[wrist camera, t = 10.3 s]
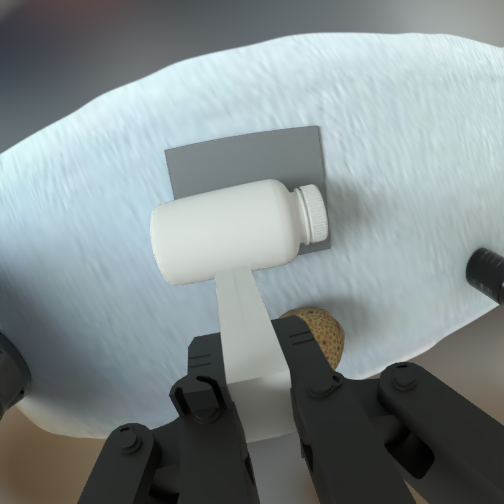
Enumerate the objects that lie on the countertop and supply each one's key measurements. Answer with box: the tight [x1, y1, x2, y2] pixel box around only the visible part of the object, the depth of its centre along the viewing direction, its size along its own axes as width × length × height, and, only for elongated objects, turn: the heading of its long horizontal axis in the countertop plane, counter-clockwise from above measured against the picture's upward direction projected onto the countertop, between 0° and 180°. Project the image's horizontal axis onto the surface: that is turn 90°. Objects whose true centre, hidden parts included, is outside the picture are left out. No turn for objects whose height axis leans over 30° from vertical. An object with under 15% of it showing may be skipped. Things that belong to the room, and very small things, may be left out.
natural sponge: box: [279, 308, 344, 370], centre depth 33 cm, size 9×9×10 cm
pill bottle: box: [150, 179, 328, 285], centre depth 28 cm, size 8×8×15 cm
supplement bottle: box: [466, 248, 504, 306], centre depth 34 cm, size 7×7×12 cm
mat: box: [164, 126, 330, 255], centre depth 31 cm, size 16×14×1 cm
